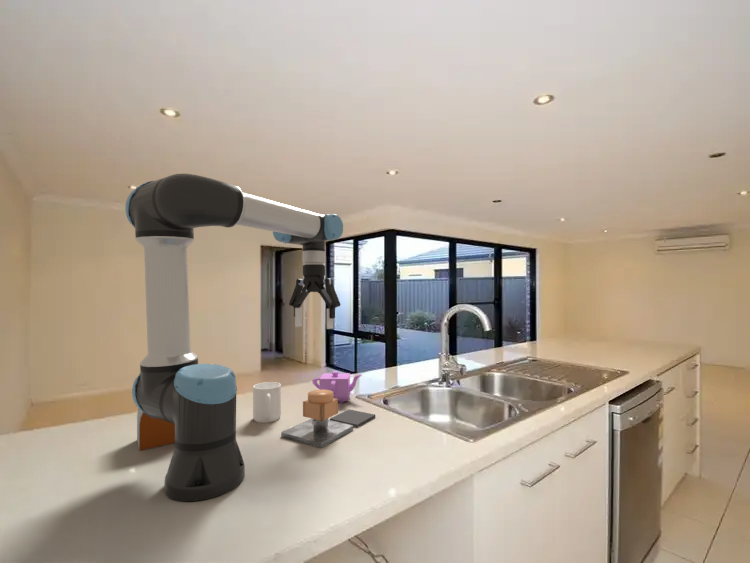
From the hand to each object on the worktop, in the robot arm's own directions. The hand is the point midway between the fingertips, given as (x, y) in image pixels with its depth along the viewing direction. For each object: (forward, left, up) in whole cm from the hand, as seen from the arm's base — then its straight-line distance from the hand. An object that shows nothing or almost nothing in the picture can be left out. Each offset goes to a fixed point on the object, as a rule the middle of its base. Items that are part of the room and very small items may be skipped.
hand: (313, 327), depth 125 cm
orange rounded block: (-39, +17, -27) cm, 50 cm away
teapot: (+11, -1, -27) cm, 30 cm away
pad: (-2, -17, -27) cm, 32 cm away
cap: (-16, -16, -22) cm, 31 cm away
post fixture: (-16, -16, -27) cm, 35 cm away
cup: (-16, +5, -27) cm, 32 cm away
